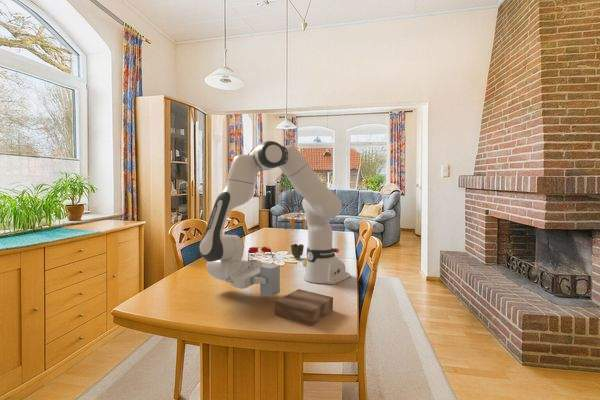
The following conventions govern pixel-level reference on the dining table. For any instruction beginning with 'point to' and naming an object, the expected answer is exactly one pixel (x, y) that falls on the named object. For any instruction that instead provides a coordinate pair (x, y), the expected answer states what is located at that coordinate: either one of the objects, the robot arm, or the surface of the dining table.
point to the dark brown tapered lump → (297, 250)
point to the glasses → (254, 250)
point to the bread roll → (304, 262)
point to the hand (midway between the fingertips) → (272, 278)
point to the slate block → (270, 279)
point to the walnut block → (304, 307)
